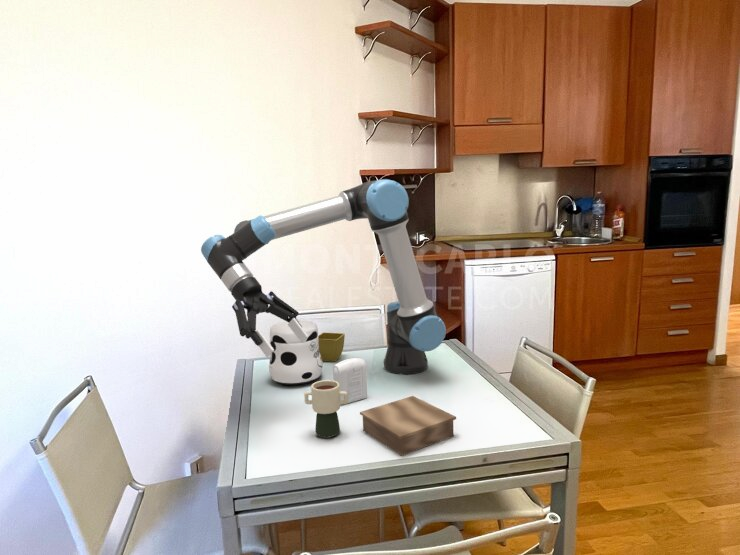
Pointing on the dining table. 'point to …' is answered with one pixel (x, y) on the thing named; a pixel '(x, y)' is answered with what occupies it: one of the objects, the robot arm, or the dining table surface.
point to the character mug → (326, 406)
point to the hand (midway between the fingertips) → (288, 346)
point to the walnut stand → (407, 424)
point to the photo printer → (351, 378)
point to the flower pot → (331, 345)
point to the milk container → (294, 354)
